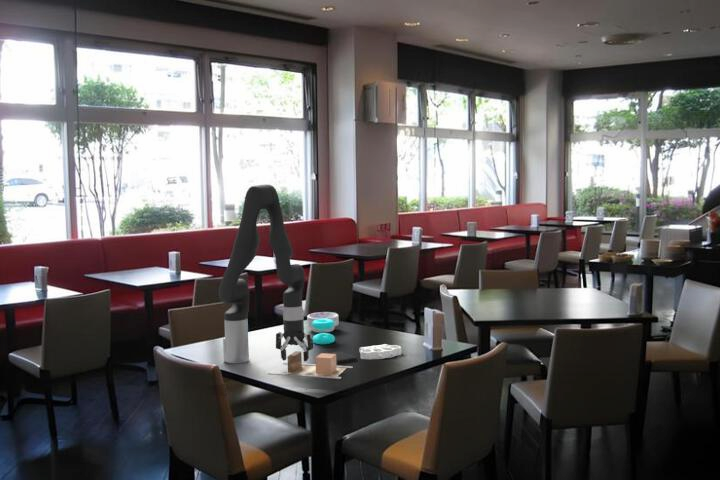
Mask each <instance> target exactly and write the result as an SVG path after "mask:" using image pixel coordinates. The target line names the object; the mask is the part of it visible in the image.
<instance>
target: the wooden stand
mask: <svg viewBox="0 0 720 480" xmlns="http://www.w3.org/2000/svg"><path fill="white" fill-rule="evenodd" d="M286 360H287V363H288V364H287V372H286V374H301V375H317V376H332V377H340V375H341V374H342V373H343V372H344V371H346V369H347V368H340V367H336V368H337V370H336V371H335V372H334V373H332V374H318V373H316V366H307V365H302V364H303V363H302V360H303V358H302V351H300V350H299V351H298V350H295V351H294V352H292V353H290V354H289V355H286Z"/></svg>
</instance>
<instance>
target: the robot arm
mask: <svg viewBox="0 0 720 480" xmlns="http://www.w3.org/2000/svg"><path fill="white" fill-rule="evenodd" d="M261 210H266V213H267V215H268V216H269V217H268V218H269V237H268V238H269V244H270V247H271V250H272V252H273V255H274V257H275V267H276V274H277V277H278V280H279V281H280V282H281V283H282V284H283V285H285V286H286V285H287V286H288V288H287V289H286V290H285V291H284V292H283V295H282V302H283V305H282V306H283V308H282V309H283V310H282V319H283V320H282V321H283V332H282V331H279V332H277V333H276V334H275V349H277V350H280V359H282V361H286V360H287V349H286V348H287V347H288V346H289V345H290V346H293V345H294V346H299V347H300V348H301V349H302V350H303V352H302V354H303V362H308V360H309V358H310V356H309V354H310V353H309V352H310V351H312V350H313V349H314V342H313V337H314V336H313V333H312V332H310V333H305V326H304V322H305V321H304V319H305V318H304V317H305V315H304V307H303V290H304V285H305V282H306V281H305V280H306V273H305V269H304V268H303V266H302V265H301V264H298V263H295V264H294V263H293V264H292V263H291V259H292V258H293V256H294V250H293V247H292V245H291V242H290V239H289V237H288V234H287V231H286V227H285V222H284V218H283V212H282V208H281V203H280V199H279V194H278V192H277V189H276V188H275V187H274V186H273V185H271V184H257V185H251V186H250V187H249V188H248V189H247V191H246V194H245V196H244V201H243V208H242V214H241V218H240V222H239V226H238V229H237V234H236V237H235V240H234V241H233V242H234V243H233V246H232V251H231V254H230V257H229V260H228V263H227V267H226V269H225V272H224V274H223V276H222V279H221V281H220V285H219V288H218V297H219V300H220V301H221V302H222V303H224V304H232V305H231V307H230V308H228V309H227V310H226V311H225V312H224V314H223V315H224V317H223V318H224V338H223V339H222V346H223V347H222V349H223V362H225V363H228V364H241V363H247V362H248V361H249V360H250V356H249V355H250V352H249V351H250V348H249V324H248V321H249V320H248V318H249V317H248V314H249V311H250V287H249V285H248V282H247V281H246V280H245V279H243V278H240V276H241V275H242V274H243V272H244V271H245V270H246V268H247V267H248V266H249V265H250V264H251V263H252V262H253V260H254V259H255V257H256V255H257V252H258V249H259V245H260V242H261V240H260V239H261V238H260V234H259V231H258V226H257V224H258V223H257V222H258V218H259V215H260V212H261ZM282 339H284V342H283V344H282ZM305 340H306V341H307V342H305Z"/></svg>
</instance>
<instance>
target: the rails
mask: <svg viewBox="0 0 720 480" xmlns="http://www.w3.org/2000/svg"><path fill="white" fill-rule="evenodd" d="M283 365H288V362H283ZM302 365H303V366H316V363H314V364H313V363H302ZM336 368H346V369H353V366H349V365H336ZM286 373H287V372H286ZM286 373H284V372H283V373H281V372H271V371H270V372H268V375H276V376H277V375H278V376H292V377H307V378H322V379H337V380H340V379H342V376H338V377H332V376H317V375H301V374H286Z"/></svg>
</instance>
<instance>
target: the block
mask: <svg viewBox="0 0 720 480" xmlns="http://www.w3.org/2000/svg"><path fill="white" fill-rule="evenodd" d="M315 364H316V373H318V374H332V373H334V372H335V371H336V370H337V368H338V367H336V366H337V364H336V354H326V353H325V352H324V353H322V352H321V353H320V354H318V355H317V356H315Z"/></svg>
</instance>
